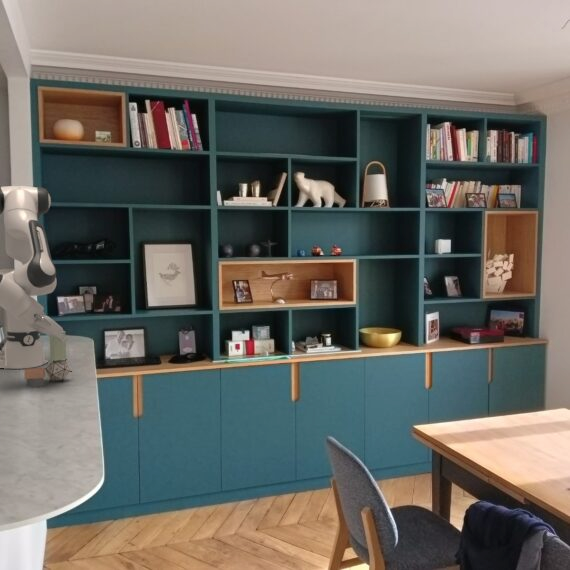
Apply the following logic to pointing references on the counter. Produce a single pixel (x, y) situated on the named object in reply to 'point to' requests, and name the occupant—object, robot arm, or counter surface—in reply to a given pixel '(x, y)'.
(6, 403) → the counter surface
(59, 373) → the game die
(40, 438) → the counter surface
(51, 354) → the green block
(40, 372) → the terracotta brick
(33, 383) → the charcoal brick
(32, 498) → the counter surface
